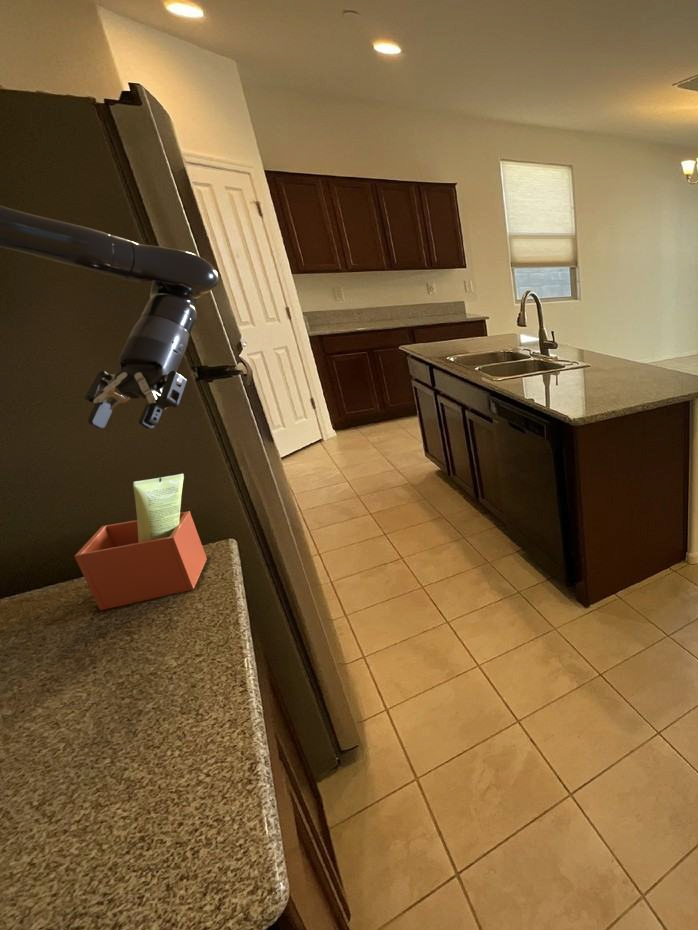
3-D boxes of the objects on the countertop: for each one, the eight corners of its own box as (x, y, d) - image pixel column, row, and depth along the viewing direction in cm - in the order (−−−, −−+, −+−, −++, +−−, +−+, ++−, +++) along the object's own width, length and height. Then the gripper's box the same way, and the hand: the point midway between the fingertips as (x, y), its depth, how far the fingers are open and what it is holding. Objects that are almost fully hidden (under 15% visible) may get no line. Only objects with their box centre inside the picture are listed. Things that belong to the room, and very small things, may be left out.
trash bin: (100, 612, 87) (74, 556, 83) (124, 578, 97) (101, 526, 93) (194, 591, 92) (173, 537, 88) (207, 560, 102) (189, 510, 98)
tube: (146, 568, 95) (146, 469, 90) (182, 568, 98) (183, 472, 92) (134, 584, 91) (132, 482, 85) (172, 585, 93) (173, 485, 87)
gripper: (97, 334, 91) (55, 415, 84) (177, 334, 91) (142, 415, 84) (135, 360, 98) (100, 436, 91) (211, 360, 98) (180, 436, 91)
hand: (120, 426), depth 88 cm, fingers open, 8 cm apart
